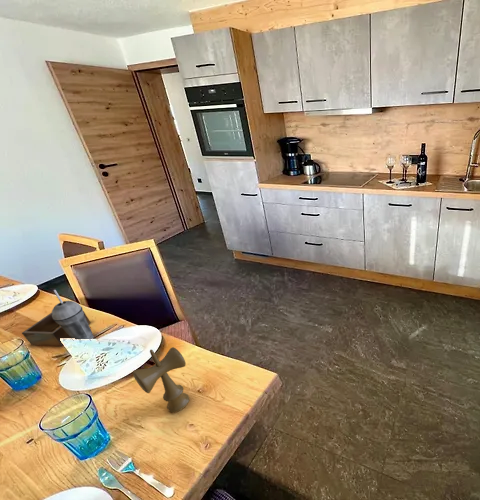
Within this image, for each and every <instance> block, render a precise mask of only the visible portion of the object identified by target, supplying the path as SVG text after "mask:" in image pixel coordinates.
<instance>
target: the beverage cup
mask: <svg viewBox="0 0 480 500" xmlns="http://www.w3.org/2000/svg"><path fill="white" fill-rule="evenodd" d="M53 292H54V294H55V296H56V297H57V300H58V301H59V303H57V304H55V305H54V307H53V308H52V310H51V313H52V318H53V320H54V321H55V322H56V323H58V324H59V325H60V326H61V327H62V328H63V329H64V330H65V331H66V333H67V334H68V335H69V336H70V337H71V339H72V338H75V339H92V340H93V339H94V335H93V334H94V333H93V330H92V328H91V327H90V324H88V322H87V320H86V318H85V316H84V313H85V312H84V313H83V311H84V309H83V306H82V305H81V304H79V303H78V302H76V301H72V300H62V298H61V297H60V294H59V293H58V292H57V290H56V289H53ZM60 326H59V327H60Z"/></svg>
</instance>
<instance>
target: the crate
mask: <svg viewBox="0 0 480 500" xmlns="http://www.w3.org/2000/svg"><path fill="white" fill-rule="evenodd" d="M83 313H84V316H85V318H86V320H87V322H88V324H89V325H90V324H91V321H90V318H89V317H88V316H87V314H86V313H85V311H84V310H83ZM21 335H23V337H24V339H26V341H27V342H28V343H29V344H30V346H41V347H64V345H63V344H62V343H61V341H60V338H71V337H70V336H69V335H68V334H67V333H66V331H65V330H64V329H63V328H62V327H61V326H60V325H59V324H58V323H56V322H55V321H54V320H53V318H52V312H50V313H49V314H47V315H46V316H45V317H43V318H42V319H40V320H39V321H37V322H35V323H34V324H32V325H31V326H29V327H28V328H27V329H25V330H24V331H22V332H21ZM71 339H72V338H71Z"/></svg>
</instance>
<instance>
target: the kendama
mask: <svg viewBox="0 0 480 500" xmlns="http://www.w3.org/2000/svg"><path fill="white" fill-rule="evenodd" d="M149 353H150V355H151V358H152V360H153V363H154V364H153V365H152V366H150V367H146V368H141V369H140V368H139V369H134V370H132V376H133V379H134V380H135V381H136V383H137V384H138V386H139V387H140V388H141V390H142V391H143V392H144V393H146V394H150V393H151V392H152V390H153V388H154V387H155V385H156V383H157V381H158V380H159V379H160V378H161V382H162V385H163V389H164V393H163V394H162V395H163V396H162V398H163V401H165V402H166V403H167V405H166V408H167V411H168V412H169V413H178V412H181V410H183V409H184V408H185V407H187V405H188V404H189V403H190V396H189V394H188V393H186V392H184V389H185V388H184V386H183V385H182V384H177V383H176V382H175V381H174V380H173V379H172V378H171V376H170V375H169V374H168V372H170V371H173V370H177V369H182V368H184V367H186V366H187V365H186V364H187V363H186V360H185V358H184V355H182V353H181V352H180V351H179V350H178V349H177V347H174V346H173V347H170V348H169V350H168V351H167V352H166V354H165V356H164V357H163V358H162V359H161V360H160V359H159V358H158V356H157V354H156V353H155V352H154V350H153V349H150V350H149Z"/></svg>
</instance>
